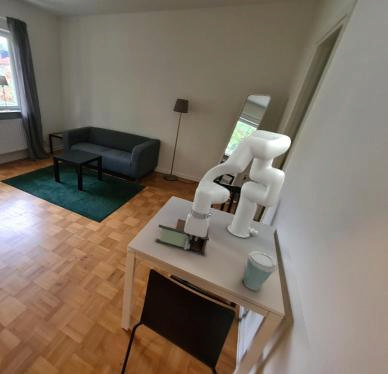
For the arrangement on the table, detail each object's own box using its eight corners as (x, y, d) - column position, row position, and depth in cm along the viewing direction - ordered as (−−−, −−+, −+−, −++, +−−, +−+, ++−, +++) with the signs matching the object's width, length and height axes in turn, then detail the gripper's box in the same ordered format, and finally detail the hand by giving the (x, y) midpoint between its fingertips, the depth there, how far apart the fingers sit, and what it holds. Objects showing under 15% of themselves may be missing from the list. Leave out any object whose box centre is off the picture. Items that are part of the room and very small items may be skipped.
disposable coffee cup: (233, 277, 94) (243, 251, 88) (250, 271, 99) (260, 246, 92) (253, 298, 86) (266, 270, 79) (271, 290, 90) (284, 263, 84)
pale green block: (189, 248, 108) (192, 235, 105) (188, 253, 105) (191, 239, 101) (160, 240, 112) (162, 227, 109) (159, 244, 109) (161, 231, 105)
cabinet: (205, 241, 116) (209, 226, 111) (204, 255, 106) (209, 239, 101) (160, 229, 122) (163, 214, 118) (155, 241, 112) (158, 226, 108)
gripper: (216, 213, 97) (207, 244, 105) (184, 205, 101) (177, 236, 108) (217, 221, 90) (207, 254, 98) (181, 213, 94) (175, 245, 102)
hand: (191, 245), depth 103 cm, fingers closed
